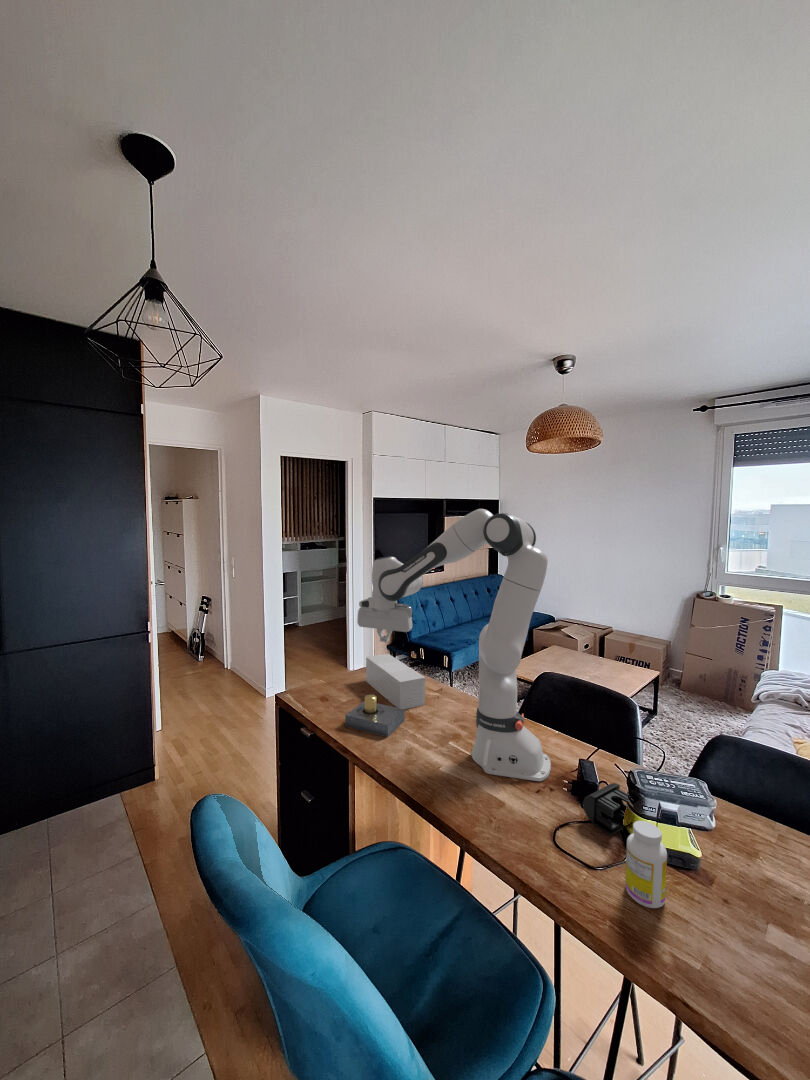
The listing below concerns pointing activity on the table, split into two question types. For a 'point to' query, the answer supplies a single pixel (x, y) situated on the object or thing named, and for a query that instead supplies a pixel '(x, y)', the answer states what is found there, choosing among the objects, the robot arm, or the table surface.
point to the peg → (370, 704)
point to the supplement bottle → (646, 865)
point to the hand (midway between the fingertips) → (384, 641)
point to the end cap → (607, 808)
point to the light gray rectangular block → (395, 681)
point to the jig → (375, 719)
